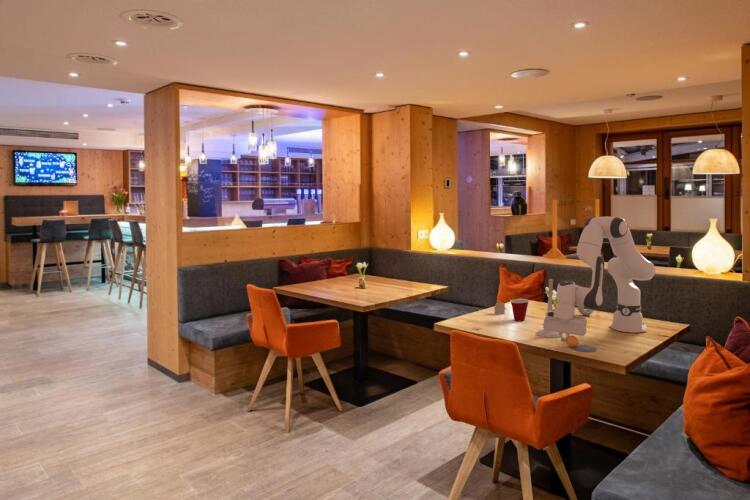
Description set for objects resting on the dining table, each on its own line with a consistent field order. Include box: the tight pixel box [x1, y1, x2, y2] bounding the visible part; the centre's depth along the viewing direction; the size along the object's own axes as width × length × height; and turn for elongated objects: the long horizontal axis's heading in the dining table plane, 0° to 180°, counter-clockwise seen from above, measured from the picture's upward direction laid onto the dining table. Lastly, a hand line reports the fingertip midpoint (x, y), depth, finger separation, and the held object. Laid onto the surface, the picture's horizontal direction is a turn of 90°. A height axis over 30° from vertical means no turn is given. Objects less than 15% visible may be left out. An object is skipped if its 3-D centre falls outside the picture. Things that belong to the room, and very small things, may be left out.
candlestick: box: [535, 278, 560, 339], centre depth 292 cm, size 13×13×30 cm
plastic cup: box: [509, 298, 530, 322], centre depth 324 cm, size 11×11×12 cm
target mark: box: [569, 344, 598, 353], centre depth 268 cm, size 12×12×1 cm
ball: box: [565, 335, 579, 347], centre depth 271 cm, size 6×6×6 cm
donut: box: [577, 306, 595, 316], centre depth 336 cm, size 10×3×10 cm, turn 87°
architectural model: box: [494, 301, 507, 315], centre depth 342 cm, size 3×7×7 cm, turn 91°
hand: (563, 341), depth 274 cm, fingers closed
